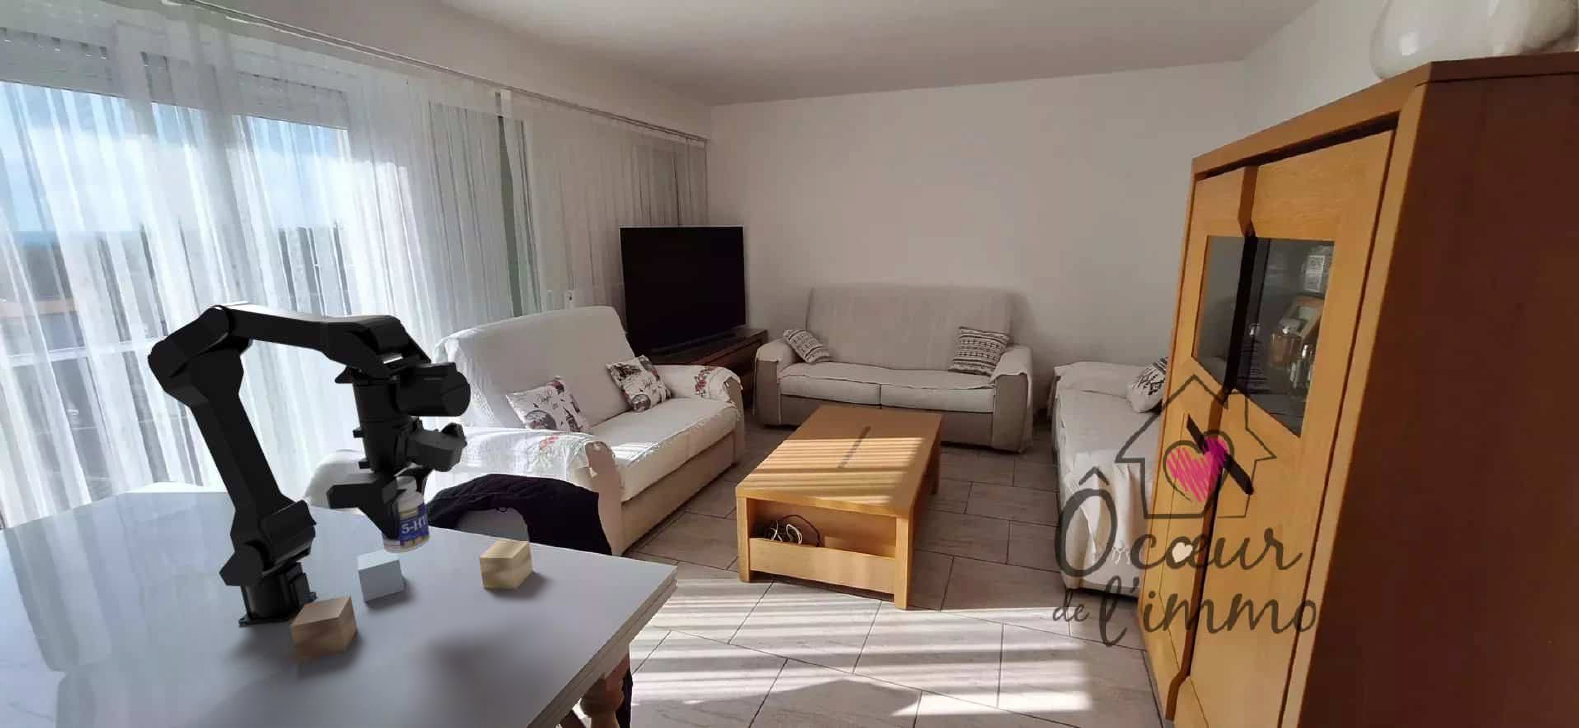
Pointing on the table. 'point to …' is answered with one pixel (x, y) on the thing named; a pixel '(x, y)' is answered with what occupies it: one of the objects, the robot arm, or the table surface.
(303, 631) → the walnut block
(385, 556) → the slate block
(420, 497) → the pill bottle
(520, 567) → the oak block
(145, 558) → the table surface
